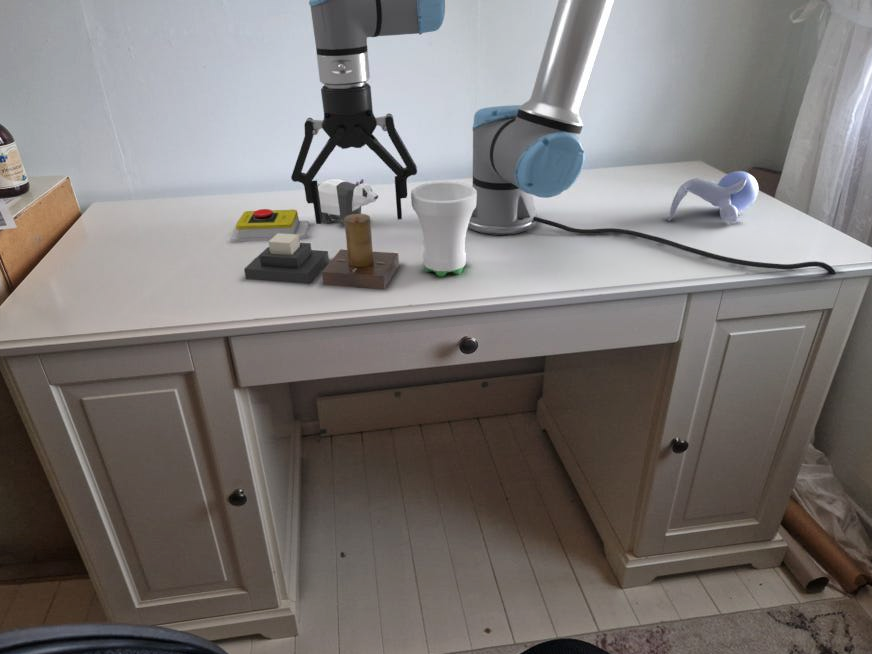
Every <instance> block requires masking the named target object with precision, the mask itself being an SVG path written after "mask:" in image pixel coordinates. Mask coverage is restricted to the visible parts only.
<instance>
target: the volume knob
mask: <svg viewBox="0 0 872 654" xmlns="http://www.w3.org/2000/svg"><path fill="white" fill-rule="evenodd" d="M344 222H345V226H344V231H345V241H346V250H347V253H348V263H349V264H350V265H351V266H355V267H364V266H368V265H371V264H372V263H373V261H374V260H373V252H374V248H373V247H374V246H373V236H372V235H373V234H372V223H371V216H370V215H368V214H367V213H361V214H352V215H348V216H346V217H345V218H344Z"/></svg>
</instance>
